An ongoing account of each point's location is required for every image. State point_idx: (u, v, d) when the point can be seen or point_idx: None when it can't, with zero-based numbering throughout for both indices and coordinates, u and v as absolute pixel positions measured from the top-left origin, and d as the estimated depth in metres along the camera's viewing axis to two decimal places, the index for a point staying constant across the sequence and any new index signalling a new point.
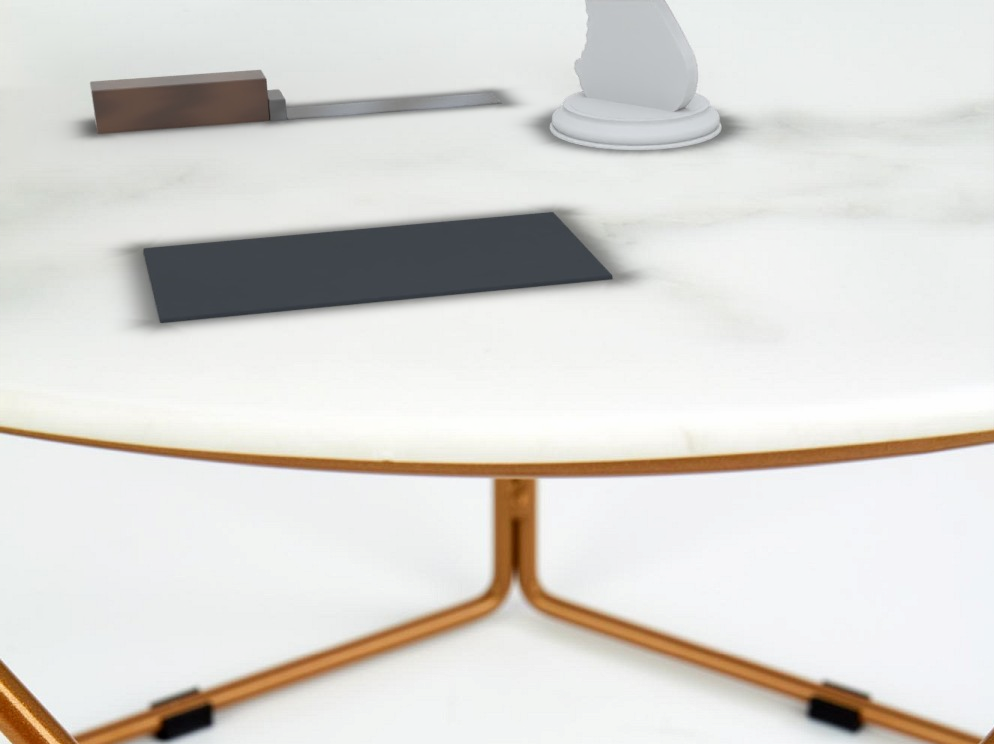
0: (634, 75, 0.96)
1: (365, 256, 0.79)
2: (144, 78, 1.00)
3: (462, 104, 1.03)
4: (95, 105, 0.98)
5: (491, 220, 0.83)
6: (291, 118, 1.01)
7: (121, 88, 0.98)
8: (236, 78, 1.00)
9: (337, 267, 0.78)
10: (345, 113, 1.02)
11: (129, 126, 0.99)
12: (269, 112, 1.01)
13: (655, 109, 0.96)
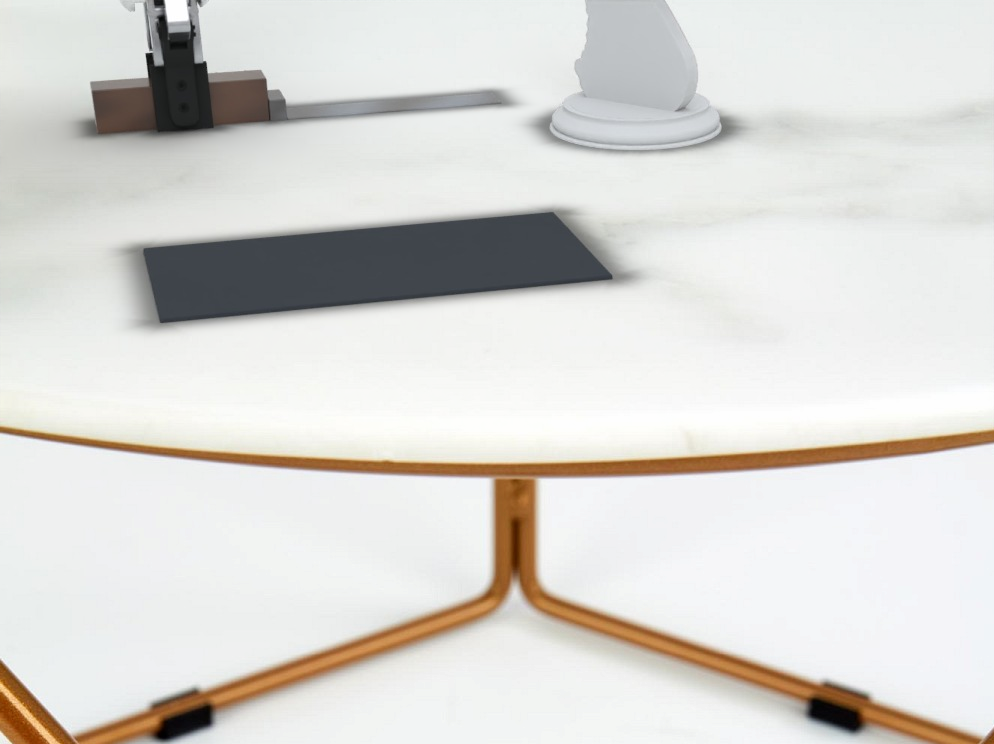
0: (634, 75, 0.96)
1: (365, 256, 0.79)
2: (144, 78, 1.00)
3: (462, 104, 1.03)
4: (95, 105, 0.98)
5: (491, 220, 0.83)
6: (291, 118, 1.01)
7: (121, 88, 0.98)
8: (236, 78, 1.00)
9: (337, 267, 0.78)
10: (345, 113, 1.02)
11: (129, 126, 0.99)
12: (269, 112, 1.01)
13: (655, 109, 0.96)
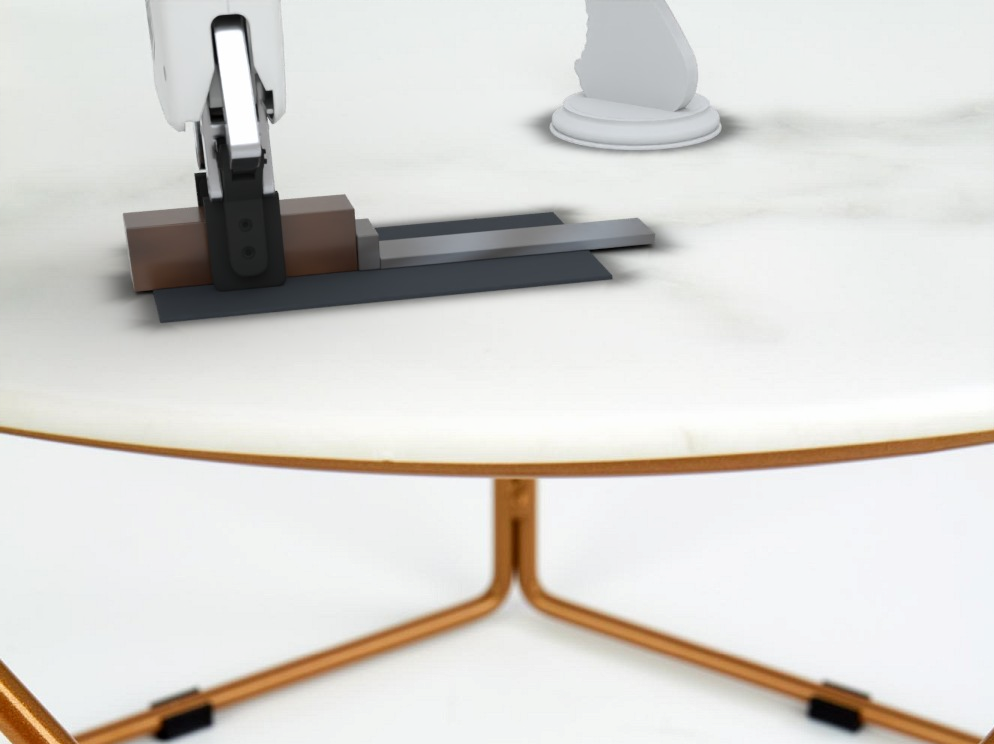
0: (634, 75, 0.96)
1: None
2: (194, 208, 0.76)
3: (605, 236, 0.79)
4: (130, 247, 0.74)
5: (491, 220, 0.83)
6: (385, 258, 0.77)
7: (165, 224, 0.74)
8: (315, 208, 0.76)
9: None
10: (455, 250, 0.78)
11: (174, 272, 0.75)
12: (357, 252, 0.77)
13: (655, 109, 0.96)
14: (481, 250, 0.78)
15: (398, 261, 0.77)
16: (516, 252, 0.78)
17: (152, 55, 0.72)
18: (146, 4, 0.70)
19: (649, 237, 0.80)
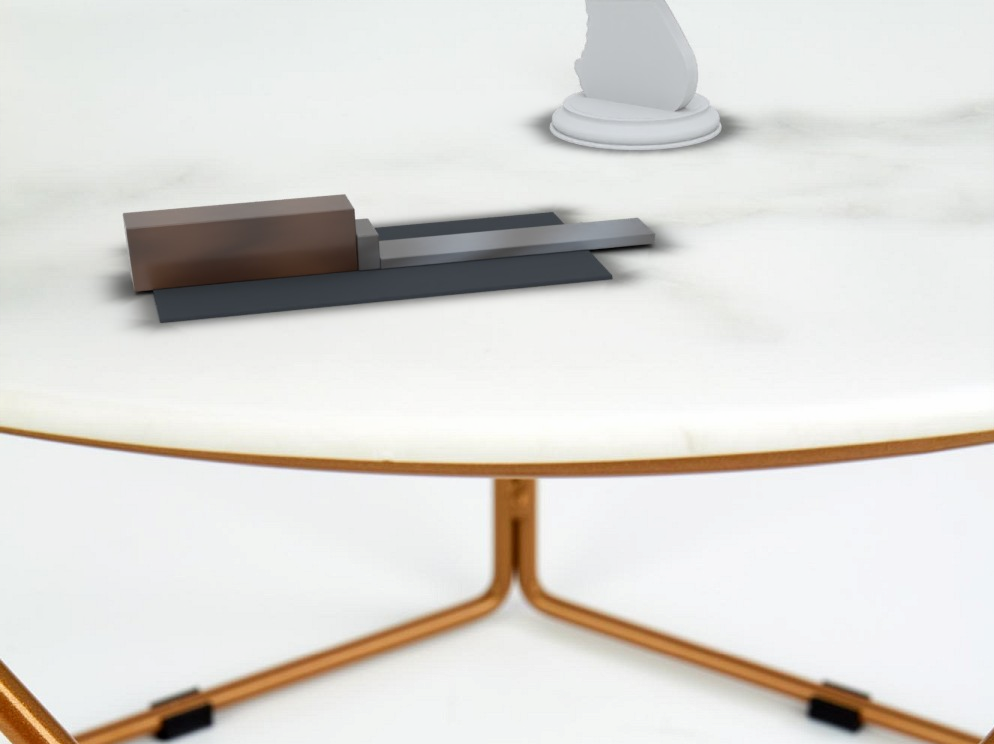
0: (634, 75, 0.96)
1: None
2: (194, 208, 0.76)
3: (605, 236, 0.79)
4: (130, 247, 0.74)
5: (491, 220, 0.83)
6: (385, 258, 0.77)
7: (165, 224, 0.74)
8: (315, 208, 0.76)
9: None
10: (455, 250, 0.78)
11: (174, 272, 0.75)
12: (357, 252, 0.77)
13: (655, 109, 0.96)
14: (481, 250, 0.78)
15: (398, 261, 0.77)
16: (516, 252, 0.78)
17: None
18: None
19: (649, 237, 0.80)
